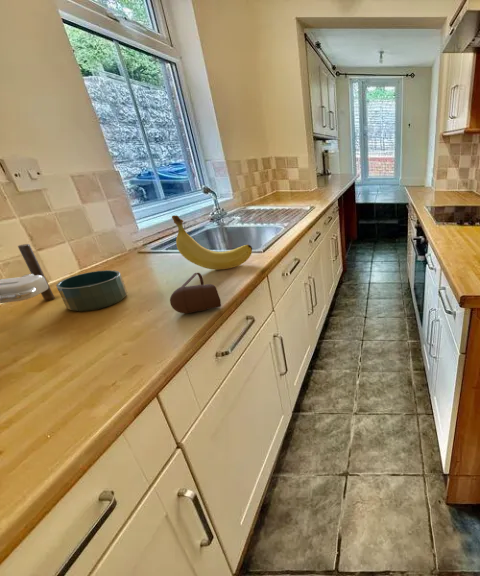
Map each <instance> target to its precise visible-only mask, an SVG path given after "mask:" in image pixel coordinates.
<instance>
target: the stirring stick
mask: <svg viewBox="0 0 480 576" xmlns="http://www.w3.org/2000/svg"><path fill="white" fill-rule="evenodd" d="M17 248H18V250H19V252H20V254H21V257H22V258H23V260H24V262H25V265H26V266H27V269H28V270H29V272H30V274H34V276H35V275H41V276H43V277H44V278H45V280H46V282H47V284H48V289H47V290H46V291H44V292H42V293H40V295H41V296H42V298H43V301H44V302H48V301H53V300H54V299H55V298H56V297H55V294H54V292H53V291H52V288H51V286H50V284H49V282H48V280H47V278H46V275H45V274H44V271H43V270H42V267H41V266H40V264H39V261H38V259H37V256H36V255H35V253H34V251H33V249H32V246H31V244H29V243H24V244H19V245H17Z"/></svg>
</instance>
